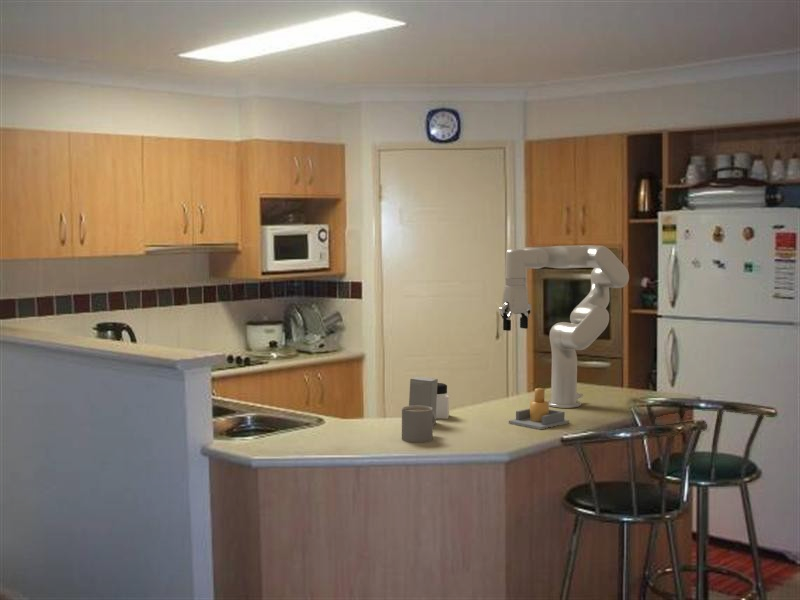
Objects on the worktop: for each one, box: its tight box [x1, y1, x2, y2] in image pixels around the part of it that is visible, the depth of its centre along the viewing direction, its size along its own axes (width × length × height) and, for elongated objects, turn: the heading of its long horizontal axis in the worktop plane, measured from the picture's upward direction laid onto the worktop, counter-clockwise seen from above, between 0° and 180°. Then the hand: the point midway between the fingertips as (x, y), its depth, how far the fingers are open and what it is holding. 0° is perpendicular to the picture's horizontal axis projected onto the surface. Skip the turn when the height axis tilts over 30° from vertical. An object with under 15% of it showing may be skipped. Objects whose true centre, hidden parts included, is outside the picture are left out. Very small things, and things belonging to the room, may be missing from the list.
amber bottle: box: [529, 387, 550, 422], centre depth 347 cm, size 6×6×11 cm
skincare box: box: [408, 376, 439, 423], centre depth 347 cm, size 8×7×16 cm
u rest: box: [508, 408, 570, 430], centre depth 347 cm, size 16×14×4 cm
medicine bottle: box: [436, 382, 450, 420], centre depth 358 cm, size 7×7×12 cm
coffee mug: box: [401, 405, 436, 443], centre depth 324 cm, size 13×10×10 cm
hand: (515, 329), depth 367 cm, fingers open, 9 cm apart
